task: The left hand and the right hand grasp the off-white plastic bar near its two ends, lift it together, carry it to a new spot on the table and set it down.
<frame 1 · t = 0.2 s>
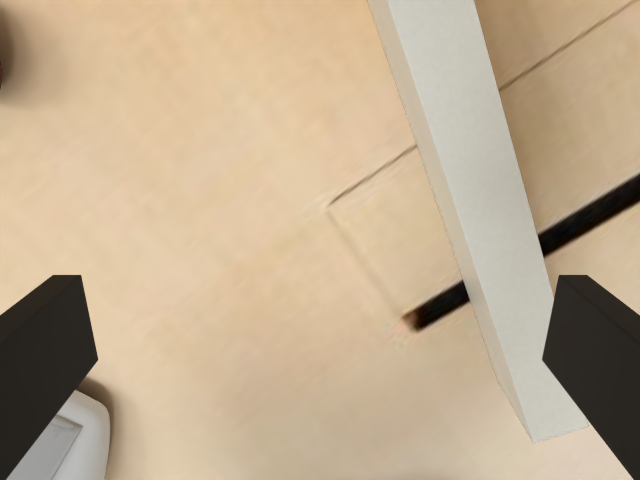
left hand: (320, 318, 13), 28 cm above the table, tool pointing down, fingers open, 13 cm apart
bar: (434, 103, 37), on the table
projector: (42, 452, 50), on the table
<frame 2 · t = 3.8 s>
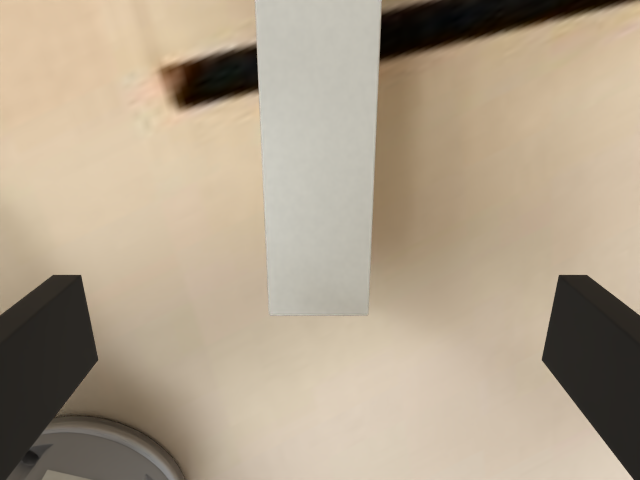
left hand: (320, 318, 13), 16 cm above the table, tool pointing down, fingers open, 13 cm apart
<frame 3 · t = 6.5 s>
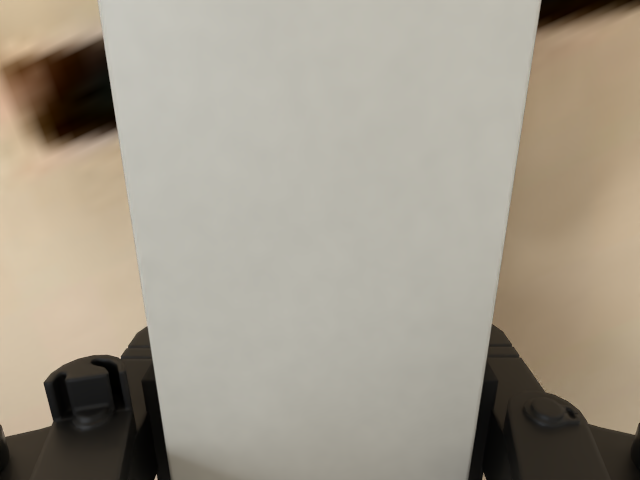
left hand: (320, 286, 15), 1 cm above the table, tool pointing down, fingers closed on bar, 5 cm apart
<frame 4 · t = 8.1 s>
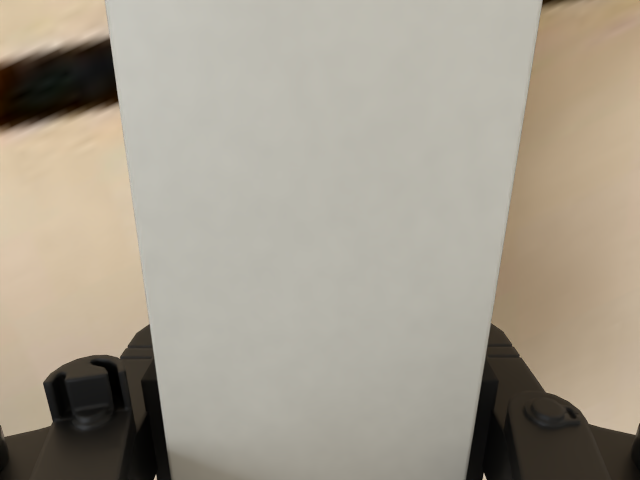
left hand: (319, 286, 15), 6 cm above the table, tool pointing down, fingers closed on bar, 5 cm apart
when the left hand's fingers open (2 cm above the table, at t = 10.1 s): bar drops 2 cm, on the table.
when the right hand's fingers open (4 cm above the table, at t = 10.2 s): bar stays where it is, on the table.
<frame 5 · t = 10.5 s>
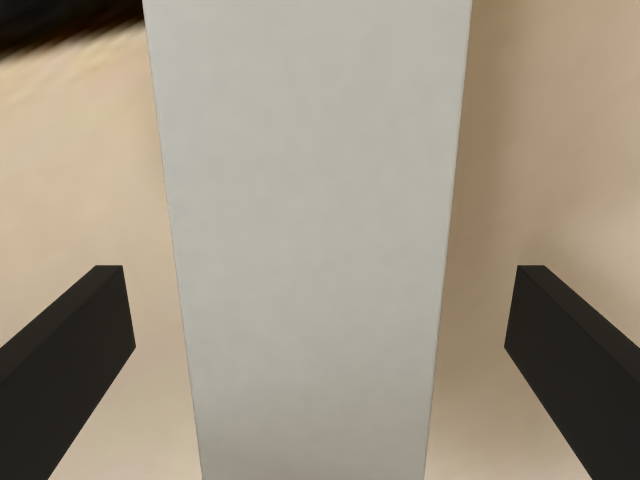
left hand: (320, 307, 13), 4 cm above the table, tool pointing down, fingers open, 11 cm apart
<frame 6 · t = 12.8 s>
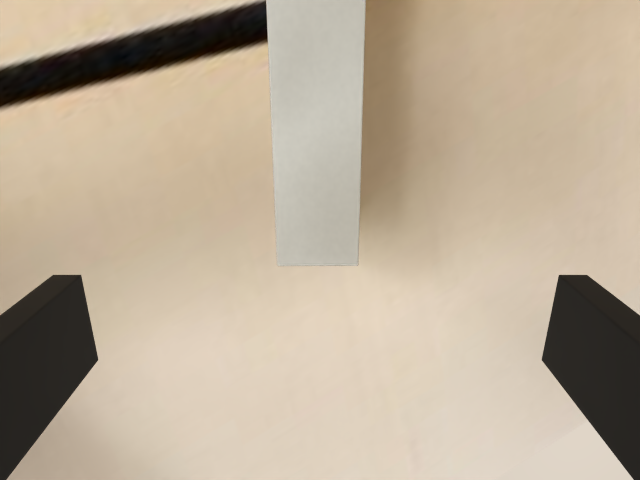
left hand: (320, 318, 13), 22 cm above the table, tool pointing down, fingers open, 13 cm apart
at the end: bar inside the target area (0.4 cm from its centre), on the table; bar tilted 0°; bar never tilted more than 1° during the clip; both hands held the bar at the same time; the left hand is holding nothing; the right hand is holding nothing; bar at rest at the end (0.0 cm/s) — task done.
